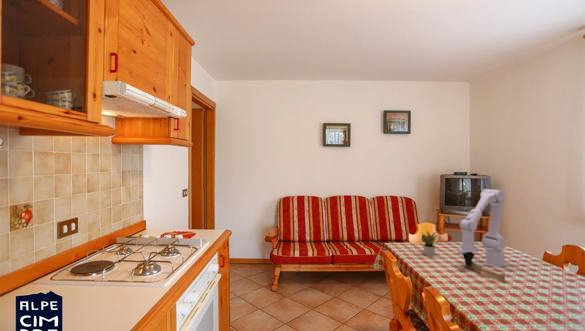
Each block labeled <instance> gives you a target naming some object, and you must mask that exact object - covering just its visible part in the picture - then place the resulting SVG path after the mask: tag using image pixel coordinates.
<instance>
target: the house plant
mask: <svg viewBox="0 0 585 331" xmlns="http://www.w3.org/2000/svg"><path fill="white" fill-rule="evenodd" d="M420 233H421V237H422V238H421V239H420V240H422V242H424V244H423V245H422V246H423V252H424V256H426V257H429V258H430V257H431V258H432V257H434V256H435V251H436V250H435V249H436V245H434V244H437V245H438V243H439V241H438V240H436V239H438V238H437V237H438V236H440V235H441V236H442V235H443V233H442V234H439V233H438V234H436V233H437V231H434V232H433V233H432V235H431V233H430V232H429V230H426V233H427V236H426V234H424V232H422V231H420ZM435 240H436V241H435Z"/></svg>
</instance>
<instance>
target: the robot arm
mask: <svg viewBox="0 0 585 331" xmlns="http://www.w3.org/2000/svg"><path fill="white" fill-rule="evenodd" d="M479 196H480V199H479V201H478V202H477V204H476V206H475V208H473V209H471V210H470V211H469V213H468V214H467V215H466V216H465V218H464V219H462V220H461V221H460V223H459V228H460V231H461V232H462V233H461V234H462V235H461V243H462V244H461V248H459V249H457V254H458V255H462V256H463V258H464V263H465V266H466V265H467V266H466V267H468V266H471V261H472V260H473V259H474V257H475V255H476V254H475V253H477V252H479V248H478V247H476V246H475V231H476V230H477V229H478V223H479V220H480V219H481V218H482V216H483V213H482V212H483V211H484V210H485V208H486V207H487V206H488V204H490V206H491V209H490V217H489V224H488V232H486V233H484V234H483V238H482V240H481V244H482V246H483V247H484V249H485V261H483V262H482V264H484V265H488V266H490V267H493V268H502V267H505V266H507V264H505V263H506V262H505V261H506V257H505V255H506V254H505V252H504V251H503V250H504V249H505V247H506V242H505V238H504V236H502V235H501V234H500V232H501V227H502V226H501V223H502V216H503V209H504V204H505V200H506V199H505V198H506V194H505V192H504V191H503V190H502V189H489V188H483V189H482V190H481V192H480V195H479ZM472 262H473V261H472Z"/></svg>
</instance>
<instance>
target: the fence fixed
mask: <svg viewBox="0 0 585 331" xmlns="http://www.w3.org/2000/svg"><path fill="white" fill-rule="evenodd" d="M477 274H478V275H481V276H482V277H483V276H484V277H486V278H489V279H492V280H495V281H497V282H500V283H503V284H505V282H506V274H505V273H503V272H502V273H498V272H496V271H495V272H494V271H493V270H489V269H486V268H483V267H482V266H481V265H478V273H477Z"/></svg>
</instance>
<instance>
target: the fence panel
mask: <svg viewBox="0 0 585 331" xmlns="http://www.w3.org/2000/svg"><path fill="white" fill-rule="evenodd" d="M465 266H466V267H467V268H469V269H471V270H472V271H474V272H475V273H477V274H478V266H479V265H478V264H477V263H475V262H473V261H471V266H467V265H466V264H465Z"/></svg>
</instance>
